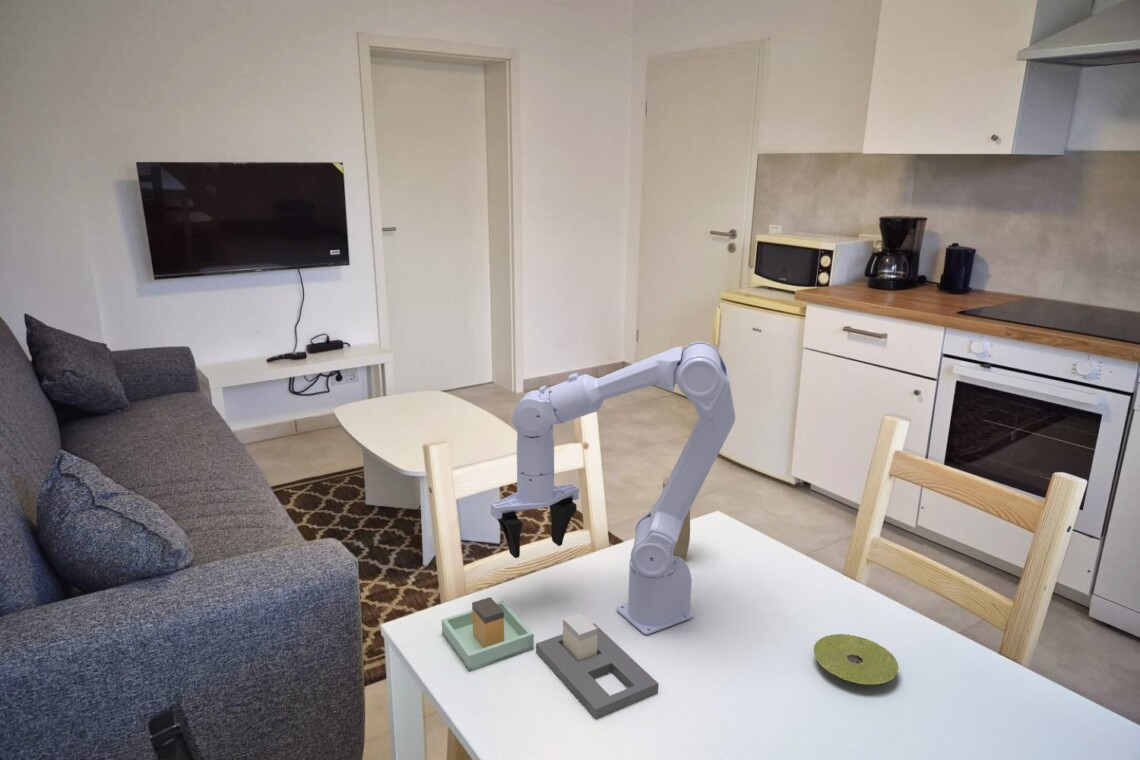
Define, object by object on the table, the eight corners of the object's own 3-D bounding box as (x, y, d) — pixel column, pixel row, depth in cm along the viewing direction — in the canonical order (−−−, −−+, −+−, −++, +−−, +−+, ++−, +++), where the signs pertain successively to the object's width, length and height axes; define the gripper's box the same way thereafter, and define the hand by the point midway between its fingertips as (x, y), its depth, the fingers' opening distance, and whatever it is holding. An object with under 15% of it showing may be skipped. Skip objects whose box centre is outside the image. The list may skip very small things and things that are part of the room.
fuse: (580, 645, 111) (580, 612, 109) (596, 661, 107) (597, 628, 106) (562, 651, 109) (562, 618, 108) (579, 668, 106) (579, 634, 104)
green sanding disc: (835, 635, 113) (836, 624, 113) (910, 669, 106) (912, 657, 105) (797, 668, 106) (798, 656, 105) (875, 708, 98) (877, 695, 98)
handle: (694, 567, 132) (699, 489, 128) (658, 563, 134) (661, 486, 130) (696, 554, 137) (700, 478, 133) (661, 550, 138) (664, 475, 134)
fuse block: (593, 631, 114) (594, 623, 113) (658, 692, 101) (658, 683, 100) (536, 652, 109) (536, 643, 108) (595, 719, 96) (595, 709, 95)
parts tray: (503, 614, 118) (502, 600, 117) (533, 648, 110) (533, 634, 109) (442, 633, 113) (441, 619, 112) (469, 671, 105) (468, 656, 104)
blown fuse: (491, 629, 113) (490, 597, 112) (504, 644, 110) (503, 611, 108) (473, 635, 112) (472, 602, 111) (485, 651, 108) (484, 617, 107)
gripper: (563, 452, 121) (562, 528, 125) (481, 469, 114) (483, 549, 118) (586, 466, 116) (585, 545, 119) (501, 485, 108) (503, 569, 112)
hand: (536, 549), depth 118 cm, fingers open, 7 cm apart
